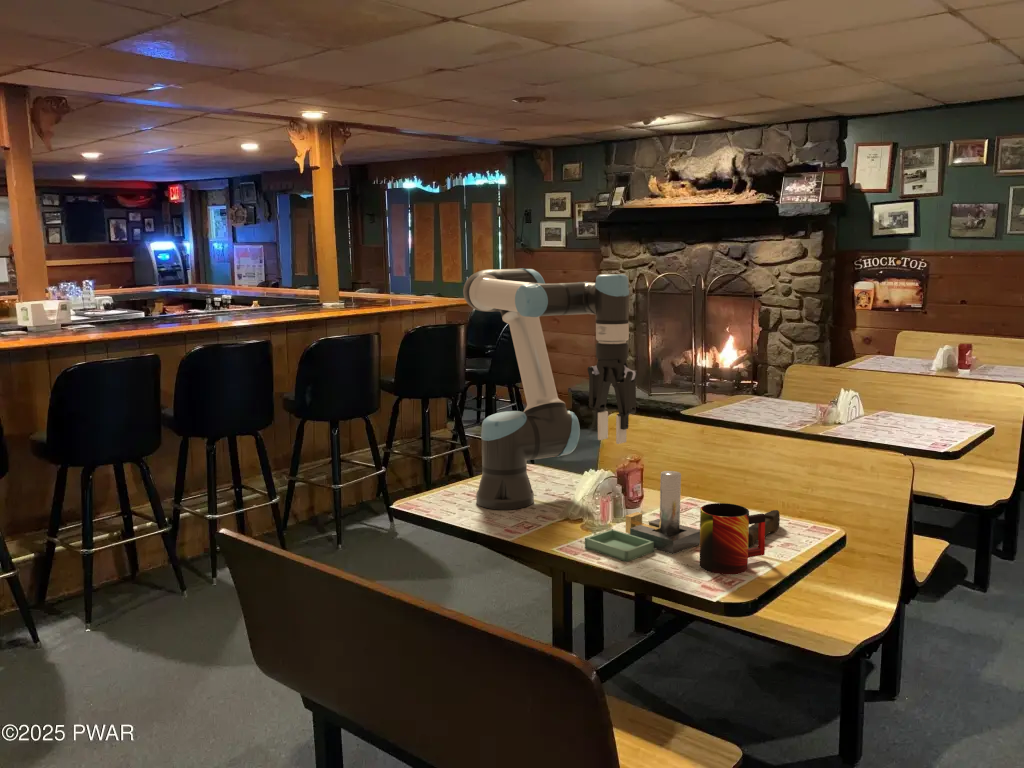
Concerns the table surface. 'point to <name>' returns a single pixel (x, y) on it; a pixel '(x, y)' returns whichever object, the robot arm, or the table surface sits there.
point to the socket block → (668, 537)
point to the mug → (728, 538)
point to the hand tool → (770, 526)
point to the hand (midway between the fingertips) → (612, 440)
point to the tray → (619, 545)
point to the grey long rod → (670, 503)
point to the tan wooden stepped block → (636, 522)
